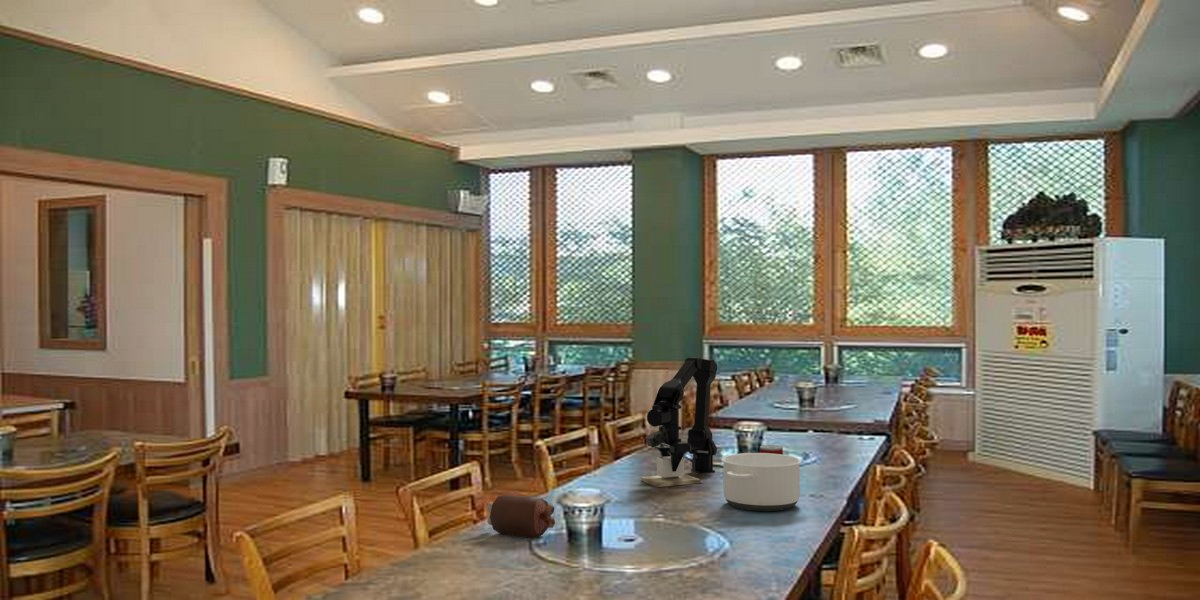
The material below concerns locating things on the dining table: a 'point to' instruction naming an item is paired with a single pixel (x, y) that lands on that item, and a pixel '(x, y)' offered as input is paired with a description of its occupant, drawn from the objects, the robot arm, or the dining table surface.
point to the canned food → (771, 449)
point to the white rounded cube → (669, 467)
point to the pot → (761, 481)
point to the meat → (520, 515)
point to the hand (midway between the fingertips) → (670, 470)
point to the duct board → (670, 480)
